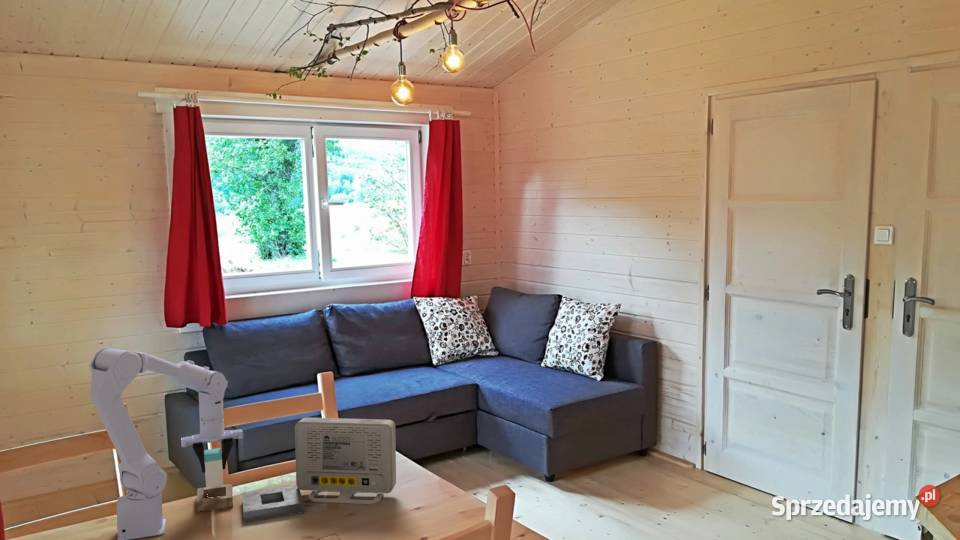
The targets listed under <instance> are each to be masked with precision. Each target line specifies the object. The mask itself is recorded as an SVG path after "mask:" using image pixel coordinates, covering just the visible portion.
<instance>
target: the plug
mask: <svg viewBox="0 0 960 540" xmlns="http://www.w3.org/2000/svg"><path fill="white" fill-rule="evenodd" d="M204 462H205V472H204V476H205V477H204V478H205V487H211V486H218V485H224V475H223V474H224V472H223V470H224V469H222V448H221V447H217V448H209V449H204Z"/></svg>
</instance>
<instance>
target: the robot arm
mask: <svg viewBox="0 0 960 540" xmlns="http://www.w3.org/2000/svg"><path fill="white" fill-rule="evenodd" d="M88 367H89V370H90V371H91V372H90V373H91V381H90V392H89V393H90V394H89V396H90V399H91V401H92V404H93V406H94V408H95V409H96V412H97V414H98V416H99V418H100V420H101V422H102V425H103V426H104V428H105V430H106V432H107V435H108V438H110V441H111V443H112V446H113V447H114V449H115V451H116V453H117V456H118V458H119V459H120V462H119V464H118V467H117V468H118V470H119V472H120V474H119V481H120V484H121V486H122V487H124V489H126V491H125V493H126V494H125V495H122V496H119V497H117V500H116V529H117V540H135V539H141V538H147V537H149V538H150V537H154V536H155V537H156V536H160V535H161V536H162V535H163V534H164V533H165V529H166V523H167V519H166V518H164V517H163V516H164V515H163V500H162V499H163V498H162V495H163V491H164V489H165V487H166V486H167V482H168V475H167V472H166V471H165V470H164V469H162V468H161V467H160V466H159V465H158V463H157V461H156V460H154V458H153V457H152V456H151V455H150V454H149V453H148V452H147V450H146V448H145V446H144V444H143V441H142V440H141V437H140V435H139V433H138V431H137V429H136V427H135V424H134V422H133V421H132V418H131V416H130V414H129V412H128V409H127V407H126V405H125V403H124V401H123V398H122V397H121V396H122V393H123V392H124V391H125V390H126V389H127V388H128V386H129V385H130V384H131V383H132V382H133V380H134V379H135V378H136V377H138V374H144V373H146V372H147V371H150V372H154V373H157V374H161V375H164V376H167V377H170V379H171V381H172V383H173V384H175V385H178V386H181V387H184V388H188V389H189V390H194V391H196V392H197V393H198V410H199V413H198V414H199V433H198V434H193V435H189V436H185V437H181V438H180V443H181V444H180V445H181V448H186V447H188V446H192V448H193V452H194V453H195V455H196V457H197V458H198V461H199V464H200V467H201V473H202V474H205V458H204V450H205V447H204V444H208V443H215V442H217V443H218V442H220V446H221V447H220V448H221V453H222V470H226V468H227V463H228V457H229V454H230V452H231V450H232V448H233V446H234V441H233V440H235V439H238V440H242V439H244V433H243V432H244V431H243V430H242V429H232V430H231V429H230V430H229V429H226V430H225V420H224V419H225V418H224V416H225V414H224V398H225V392H226V389H227V388H228V384H229V381H228V380H227V379H226V376H225V375H224V374H223V373H222V372H220V371H216V370H210V367H209V366H206V365H204V366H199V365H197V364H195V361H193V360H189V359H188V360H187V359H186V361H184V360H183V361H180V362H177V363H174V362H171V361H168V360H166V359H163V358H161V357H158V356H155V355H152V354H150V353H146V352H141V351H135V350H128V349H121V348H120V349H119V348H115V347H112V346H107V347H106V346H105V347H103V348H101V349H99V350H98V351H97V352H96V353H95V354H94V357H93V358H92V360H91V362H90V363H89V366H88Z"/></svg>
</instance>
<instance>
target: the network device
mask: <svg viewBox="0 0 960 540" xmlns="http://www.w3.org/2000/svg"><path fill="white" fill-rule="evenodd" d="M396 445H397V444H396V424H395V422H394V420H391V419H377V418H376V419H374V418H371V419H369V418H368V419H367V418H339V417H337V418H334V417H302V418H301V419H300V420H299V421H298V422H296V424H295V426H294V446H295V481H296V482H295V484H296V485H297V487H298V488H299V489H300V491H311V492H310V493H309V495H308V500H309V501H310V502H313V503H331V504H355V505H356V504H359V505H360V504H361V505H373V504H376V503H379V502H380V501H381V499H382V497H383V496H384V494H390V493H392V491H393V490H394V488H395V486H396V484H397V465H396V464H397V455H396V453H397V450H396ZM319 492H339V495H338V497H335V498H321V497H319V498H318V497H315V496H316V495H317V494H318V493H319ZM355 493H367V494H368V493H369V494H376V496H375V497H374V499H352V497H353V495H354V494H355Z"/></svg>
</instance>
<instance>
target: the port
mask: <svg viewBox="0 0 960 540" xmlns="http://www.w3.org/2000/svg"><path fill="white" fill-rule="evenodd" d="M241 502H242V513H243V515H242V516H243V522H244V523H247V522H254V521H261V520H266V519H273V518H279V517H285V516H292V515H298V514H304V513H305V505H304V503H305V502H304V499H303V496H302V493H301V490H300V489H299V488H298V487H297V485H290V486H289V485H288V486H282V487H275V488H269V489H263V490H256V491H248V492H242V493H241Z"/></svg>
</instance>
